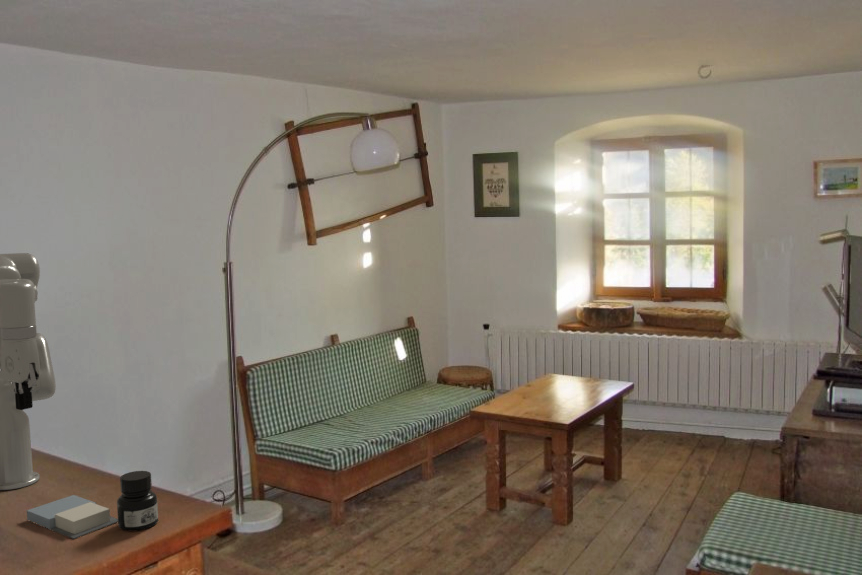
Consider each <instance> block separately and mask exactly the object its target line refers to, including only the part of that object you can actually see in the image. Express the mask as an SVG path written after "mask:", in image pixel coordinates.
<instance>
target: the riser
mask: <svg viewBox="0 0 862 575" xmlns="http://www.w3.org/2000/svg"><path fill="white" fill-rule="evenodd" d="M89 502H92V503H94V504H97V502H95V501H92V500H89V499H87V498H84V497H81V496H79V495H76V494H72V495H70V496H69V495H68V496H67V497H63V498H60V499H57V500H54V501H50V502H49V503H45V504H42V505H39V506H37V507H36V506H35V507H33V508H29V509H26V520H27V521H28V520H30V521H32V522H35V523H37V524H39V525H38V526H40V525H41V526H40V527H42V526H44V527H43V528H45V527H46V529H47V528H48V529H47V530H51V528H54V527H56V523H55V514H57V513H60V512H63V511H66V510H69V509H72V508H75V507H78V506H80V505H83V504H86V503H89ZM30 521H29V522H30ZM32 522H31V523H32ZM35 523H34V524H35ZM37 524H36V525H37Z"/></svg>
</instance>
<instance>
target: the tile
mask: <svg viewBox="0 0 862 575" xmlns="http://www.w3.org/2000/svg"><path fill="white" fill-rule="evenodd" d="M110 516H111V513H110V508H109V507H106V506H102V505H100V504H97V503H96V504H94V503H92V502H89V503H86V504H83V505H80V506H78V507H75V508H72V509H69V510H66V511H63V512H60V513H57V514H55V523H56V527H58V528H60V529H63V530H65V531H68V532H70V533H73V534H77V533H79V532H82V531H85V530H87V529H90V528H93V527H95V526H98V525H101V524H103V523H106V522H109V521H110Z"/></svg>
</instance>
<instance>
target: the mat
mask: <svg viewBox="0 0 862 575" xmlns="http://www.w3.org/2000/svg"><path fill="white" fill-rule="evenodd" d="M117 522H118V517H117V518H116V517H114V516H111V515H110V521H109V522H106V523H103V524H101V525H98V526H95V527H93V528H90V529H87V530H85V531H82V532H79V533H77V534H73V533H70V532H68V531H65V530H63V529H60V528H58V527H54V528H51V529H50V531H52V530H53V531H52V532H54V533H57V532H58V534H60V535H63V536H65V537H67V538H69V539H72V540H76V539H78V537H79V538H81V537H83V535H84V536H86V535H89V534H91V533H90V532H92V531H94V532H96V531H95V530H97V531H99V530H101V528H102V529H104V528H103V527H105V528H107V527H110V526H113V525H115V524H118V523H117ZM114 523H115V524H114ZM112 524H113V525H112ZM109 525H110V526H109ZM106 526H107V527H106ZM98 529H99V530H98ZM88 533H89V534H88ZM92 533H93V532H92ZM85 534H86V535H85ZM80 536H81V537H80Z"/></svg>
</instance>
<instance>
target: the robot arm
mask: <svg viewBox="0 0 862 575" xmlns="http://www.w3.org/2000/svg"><path fill="white" fill-rule="evenodd" d="M40 269H41V268H40V264H39V261H38V260H37V258H36V257H35V255H33V254H31V253H27V252H19V253H18V252H17V253H15V252H14V253H0V491H6V490H7V491H9V490H15V489H21V488H25V487H28V486H31V485H33V484H35V483H36V482H38V481H39V480H40V473H39V472H37V471H34V470H33V469H34V468H33V455H32V444H31V443H32V440H31V428H30V426H31V425H30V419H29V416H28V414H27V413H26V412H25V411H24V410H28V409H32V408H33V402H35V401H36V402H38V401H43V400H47V399H50V398H52V397H53V396H54V394H55V393H56V389H57V388H56V378H55V374H54V367H53V363H52V358H51V353H50V348H49V345H48V341H47V338H45V336H44V335H43V334H41V333H39V332H38V331H37V323H36V322H37V320H36V306H35V305H36V302H37V301H38V292H39V291H38V285H39V280H40V276H41V275H40V273H41V270H40Z"/></svg>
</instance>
